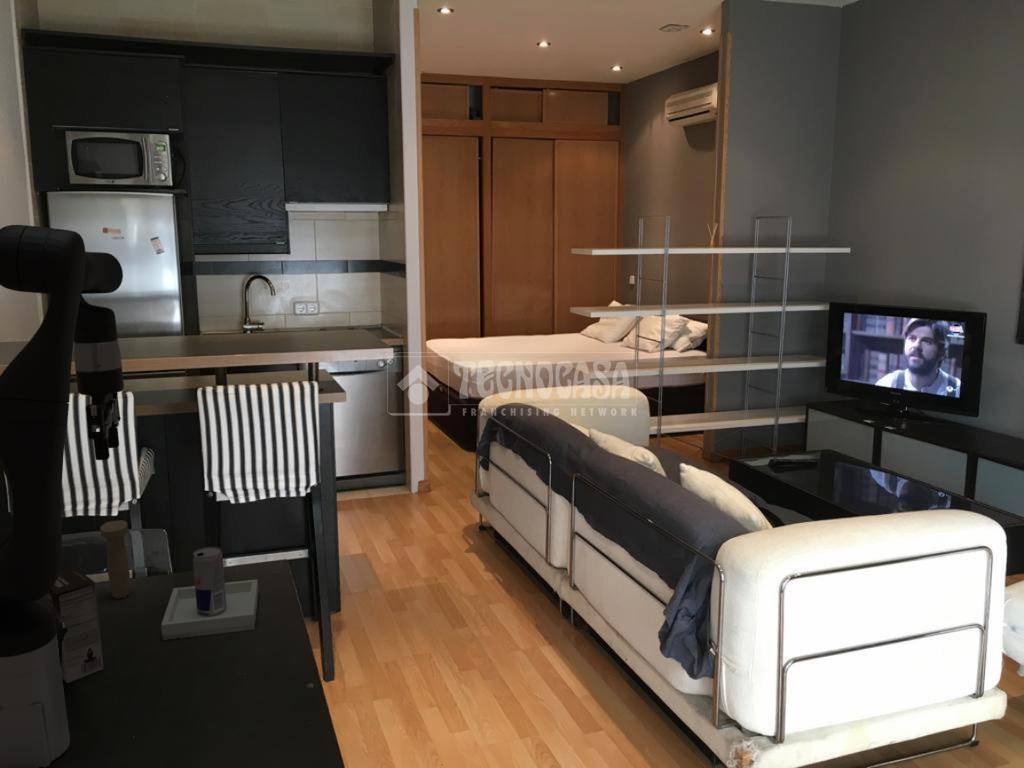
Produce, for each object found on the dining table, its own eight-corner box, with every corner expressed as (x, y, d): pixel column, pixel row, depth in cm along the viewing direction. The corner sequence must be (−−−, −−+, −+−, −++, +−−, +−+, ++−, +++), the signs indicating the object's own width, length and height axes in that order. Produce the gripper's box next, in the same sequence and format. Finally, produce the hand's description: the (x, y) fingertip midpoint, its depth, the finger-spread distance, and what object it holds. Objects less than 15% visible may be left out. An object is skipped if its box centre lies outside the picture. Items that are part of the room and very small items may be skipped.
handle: (134, 587, 174) (127, 519, 171) (133, 600, 168) (126, 529, 165) (109, 591, 172) (101, 522, 169) (107, 604, 166) (99, 533, 164)
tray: (254, 629, 156) (253, 614, 155) (162, 640, 152) (161, 625, 151) (258, 593, 171) (257, 579, 170) (174, 602, 167) (173, 588, 167)
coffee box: (45, 665, 144) (34, 577, 141) (84, 651, 148) (74, 566, 145) (66, 684, 138) (55, 593, 135) (106, 669, 142) (96, 580, 139)
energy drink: (196, 607, 162) (191, 549, 160) (225, 602, 165) (220, 544, 162) (198, 619, 158) (193, 559, 155) (228, 613, 160) (223, 554, 158)
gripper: (113, 371, 144) (122, 462, 147) (128, 358, 158) (137, 442, 161) (65, 374, 142) (75, 465, 145) (85, 360, 156) (94, 445, 159)
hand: (107, 453), depth 153 cm, fingers open, 8 cm apart
